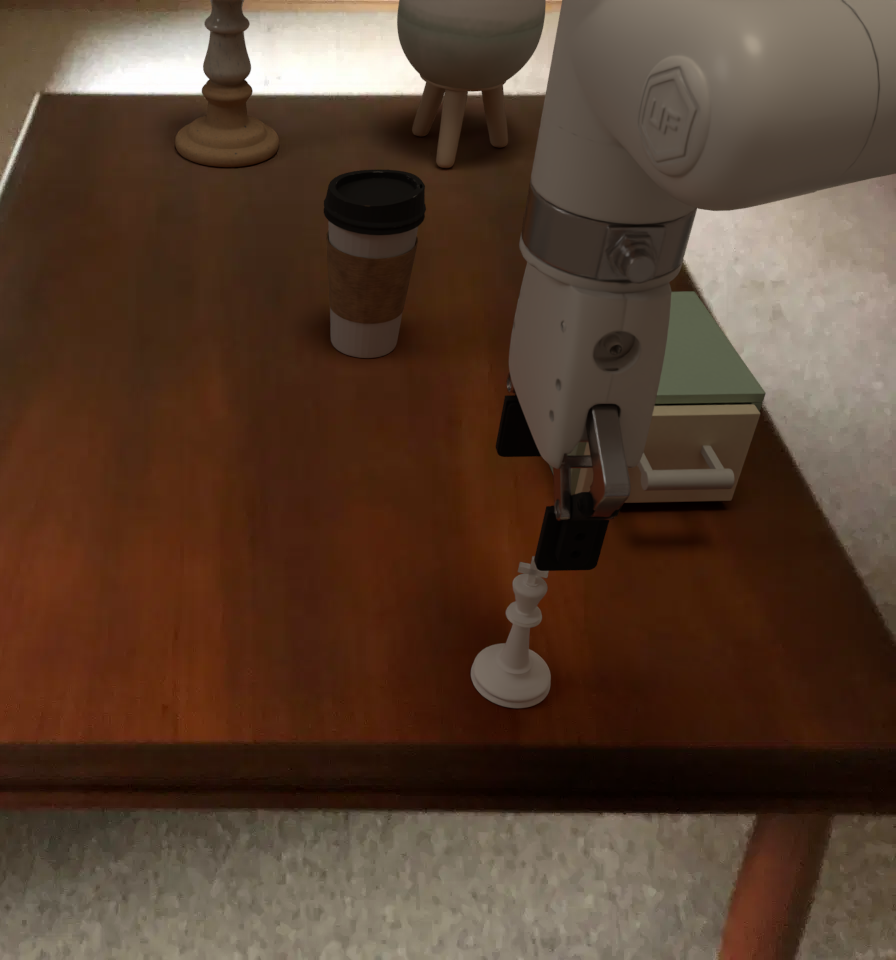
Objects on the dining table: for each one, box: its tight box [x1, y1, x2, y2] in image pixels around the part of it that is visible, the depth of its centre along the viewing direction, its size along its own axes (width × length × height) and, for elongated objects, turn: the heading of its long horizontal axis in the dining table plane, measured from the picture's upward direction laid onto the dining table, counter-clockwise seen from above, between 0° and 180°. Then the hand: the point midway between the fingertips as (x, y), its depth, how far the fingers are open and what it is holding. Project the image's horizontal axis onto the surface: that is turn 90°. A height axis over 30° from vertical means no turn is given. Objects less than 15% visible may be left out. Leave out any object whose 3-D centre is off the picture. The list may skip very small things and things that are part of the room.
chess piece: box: [470, 555, 552, 709], centre depth 71 cm, size 5×5×10 cm
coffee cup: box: [323, 169, 427, 359], centre depth 101 cm, size 8×8×15 cm
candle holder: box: [174, 0, 280, 168], centre depth 134 cm, size 12×12×20 cm
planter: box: [396, 0, 547, 169], centre depth 133 cm, size 16×16×22 cm
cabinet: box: [548, 291, 767, 495], centre depth 91 cm, size 15×13×10 cm
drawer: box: [575, 403, 761, 504], centre depth 88 cm, size 18×11×8 cm, turn 3°
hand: (542, 506), depth 66 cm, fingers open, 9 cm apart
